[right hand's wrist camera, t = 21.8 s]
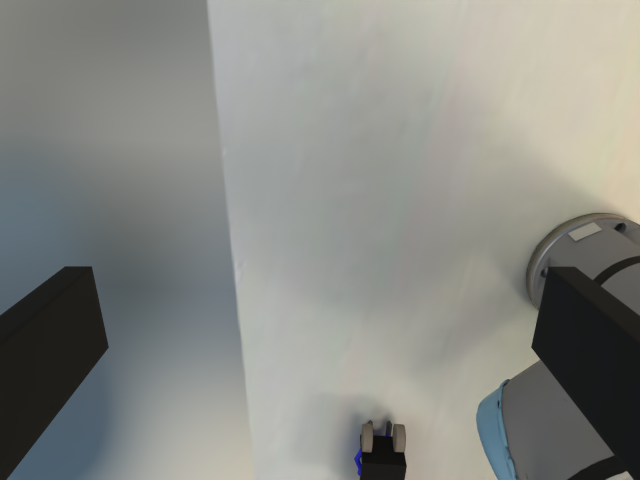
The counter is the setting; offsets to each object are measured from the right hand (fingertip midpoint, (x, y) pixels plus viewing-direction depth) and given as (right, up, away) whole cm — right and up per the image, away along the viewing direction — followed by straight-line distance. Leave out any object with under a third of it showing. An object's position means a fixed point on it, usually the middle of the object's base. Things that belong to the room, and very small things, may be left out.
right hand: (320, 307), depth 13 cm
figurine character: (+8, -29, +52) cm, 61 cm away
